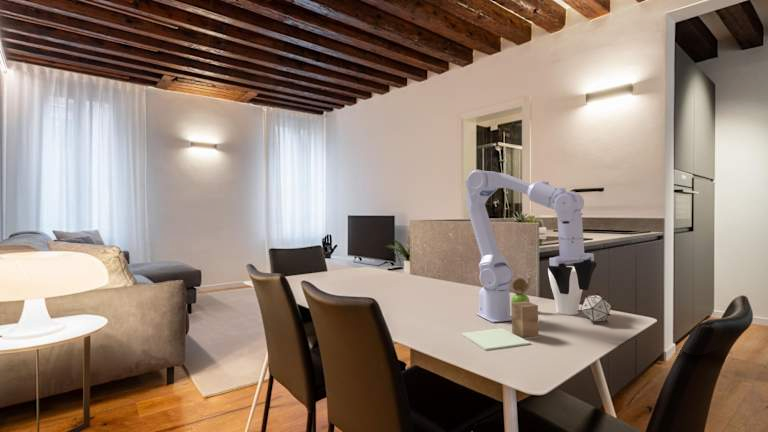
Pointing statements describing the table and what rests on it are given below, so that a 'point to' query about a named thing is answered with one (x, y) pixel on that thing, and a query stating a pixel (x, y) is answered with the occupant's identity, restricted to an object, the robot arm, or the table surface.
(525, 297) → the snail figurine
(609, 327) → the table surface
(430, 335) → the table surface
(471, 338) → the mat
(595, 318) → the game die
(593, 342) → the table surface
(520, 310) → the wooden block
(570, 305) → the cup
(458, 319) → the table surface
